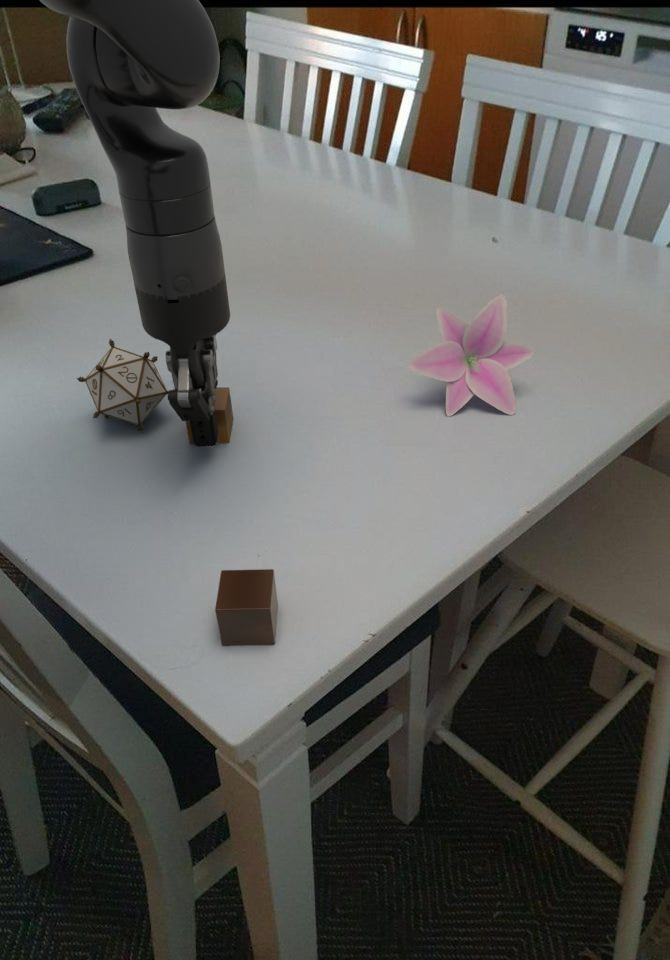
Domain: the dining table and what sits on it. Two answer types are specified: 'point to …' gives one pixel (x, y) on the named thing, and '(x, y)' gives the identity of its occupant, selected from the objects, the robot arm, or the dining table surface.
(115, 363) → the game die
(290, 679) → the dining table surface
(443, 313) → the lily
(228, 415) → the oak block
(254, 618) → the walnut block
